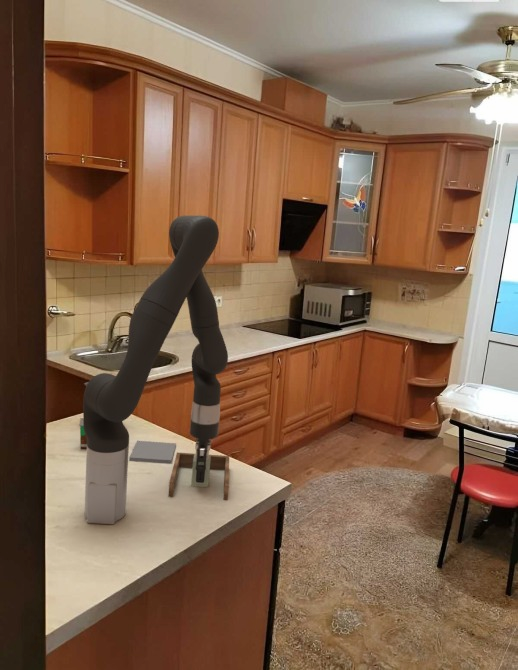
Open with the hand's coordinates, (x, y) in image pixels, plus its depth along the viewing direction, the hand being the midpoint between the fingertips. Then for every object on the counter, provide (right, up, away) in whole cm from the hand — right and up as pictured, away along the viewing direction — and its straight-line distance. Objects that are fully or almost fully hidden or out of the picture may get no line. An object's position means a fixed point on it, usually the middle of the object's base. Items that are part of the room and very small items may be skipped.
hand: (200, 474), depth 139 cm
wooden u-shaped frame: (0, -2, 0) cm, 2 cm away
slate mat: (-16, +2, +15) cm, 22 cm away
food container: (-34, +4, +18) cm, 39 cm away
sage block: (0, -2, 0) cm, 2 cm away
